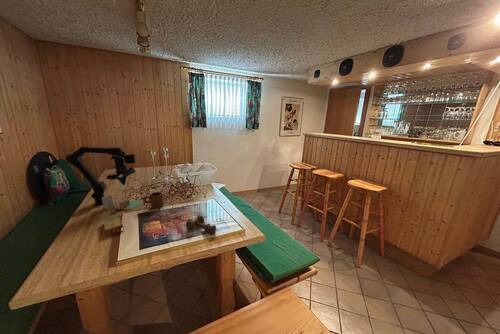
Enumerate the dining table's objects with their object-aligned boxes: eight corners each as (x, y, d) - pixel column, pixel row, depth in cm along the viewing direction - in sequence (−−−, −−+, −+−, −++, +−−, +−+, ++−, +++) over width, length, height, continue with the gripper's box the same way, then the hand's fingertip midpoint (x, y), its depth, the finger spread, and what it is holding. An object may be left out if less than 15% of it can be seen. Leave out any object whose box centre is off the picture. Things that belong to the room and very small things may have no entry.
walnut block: (114, 202, 128) (125, 199, 136) (114, 208, 129) (125, 204, 137) (118, 203, 127) (129, 200, 135) (119, 209, 128) (129, 205, 136)
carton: (106, 237, 102) (104, 230, 101) (103, 224, 114) (102, 218, 113) (124, 231, 107) (123, 224, 106) (120, 219, 119) (119, 213, 118)
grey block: (104, 208, 132) (101, 197, 130) (109, 205, 136) (107, 195, 134) (108, 209, 131) (106, 198, 129) (113, 206, 135) (111, 196, 133)
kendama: (207, 240, 100) (181, 228, 109) (219, 230, 108) (193, 220, 118) (207, 229, 98) (180, 218, 108) (219, 221, 106) (193, 211, 116)
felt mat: (115, 206, 135) (114, 206, 134) (129, 199, 146) (129, 199, 146) (130, 209, 131) (130, 208, 131) (144, 201, 142) (144, 201, 142)
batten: (113, 208, 132) (112, 206, 132) (114, 207, 133) (114, 206, 133) (126, 210, 129) (126, 209, 129) (128, 209, 130) (127, 208, 130)
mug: (145, 211, 127) (143, 198, 125) (143, 207, 134) (141, 194, 131) (164, 207, 134) (162, 194, 131) (162, 203, 140) (160, 191, 137)
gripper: (116, 168, 127) (120, 190, 131) (139, 162, 144) (142, 181, 148) (103, 167, 130) (108, 189, 134) (127, 161, 147) (131, 180, 152)
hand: (123, 184), depth 142 cm, fingers closed
